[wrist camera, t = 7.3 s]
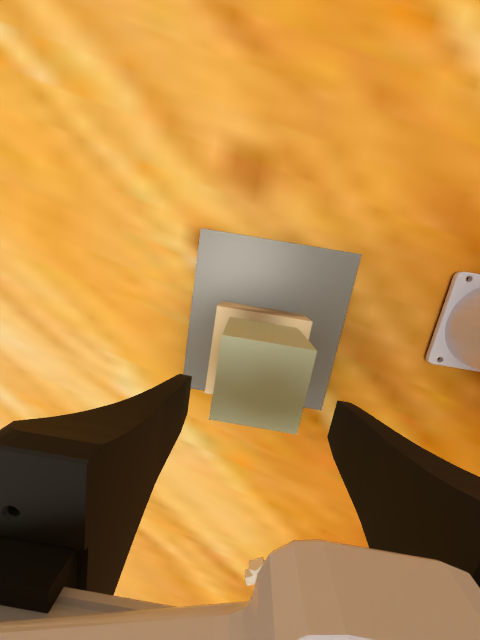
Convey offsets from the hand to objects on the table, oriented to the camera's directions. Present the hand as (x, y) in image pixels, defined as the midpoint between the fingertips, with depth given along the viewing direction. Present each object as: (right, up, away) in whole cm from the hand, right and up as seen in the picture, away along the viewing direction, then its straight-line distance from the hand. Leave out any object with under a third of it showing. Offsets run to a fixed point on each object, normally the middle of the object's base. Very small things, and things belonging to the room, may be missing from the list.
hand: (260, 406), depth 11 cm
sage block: (0, +2, +6) cm, 6 cm away
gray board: (+1, +4, +10) cm, 10 cm away
